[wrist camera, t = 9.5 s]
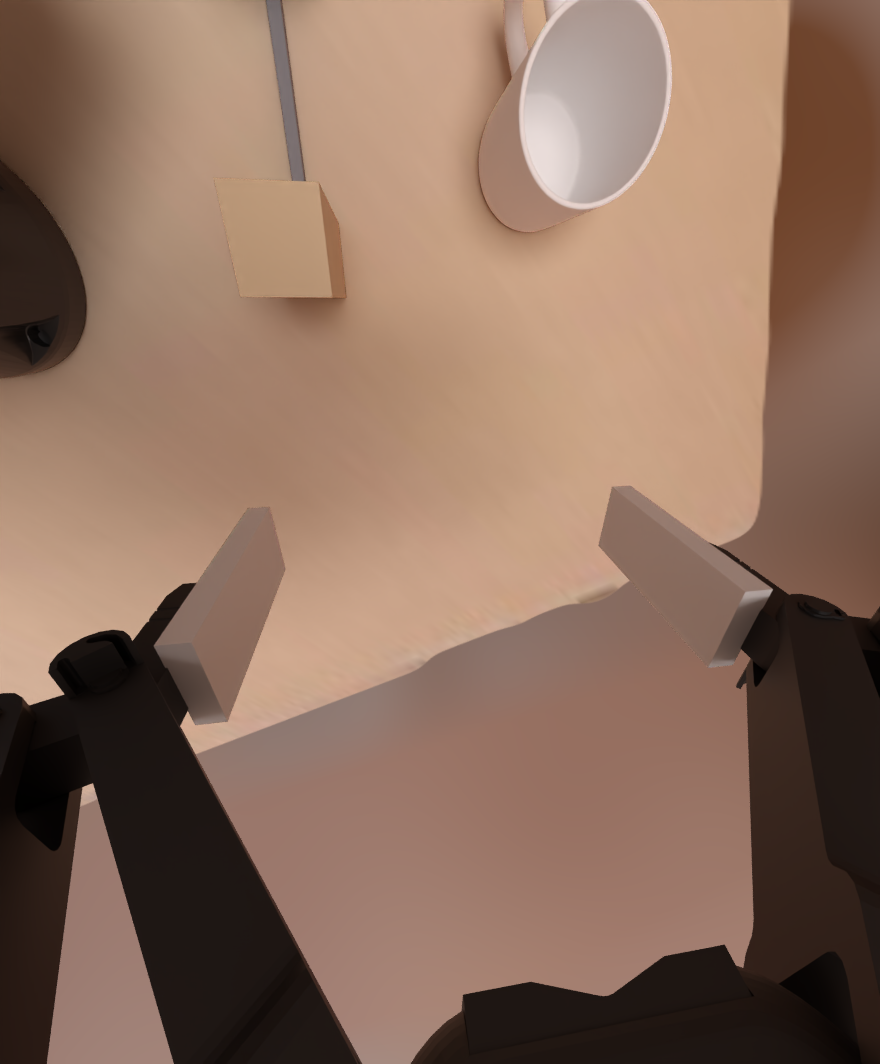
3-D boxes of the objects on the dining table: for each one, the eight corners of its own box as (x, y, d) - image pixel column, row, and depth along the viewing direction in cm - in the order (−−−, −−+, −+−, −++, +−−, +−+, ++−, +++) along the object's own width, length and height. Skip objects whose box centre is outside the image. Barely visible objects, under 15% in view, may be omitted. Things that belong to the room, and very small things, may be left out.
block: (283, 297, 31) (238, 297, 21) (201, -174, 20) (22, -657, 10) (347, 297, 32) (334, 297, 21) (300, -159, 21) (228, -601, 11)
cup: (498, 255, 31) (545, 238, 23) (435, 50, 25) (466, -79, 17) (594, 201, 31) (680, 162, 22) (553, -26, 24) (649, -203, 16)
